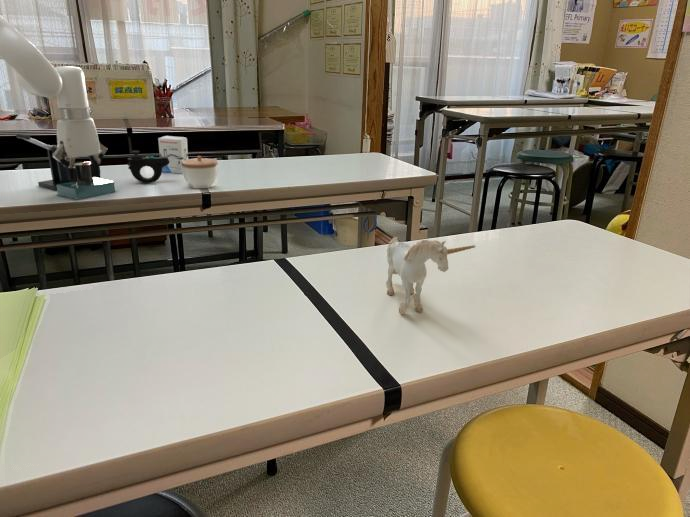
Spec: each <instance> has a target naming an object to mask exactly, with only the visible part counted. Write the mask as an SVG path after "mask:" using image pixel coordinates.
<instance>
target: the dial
mask: <svg viewBox="0 0 690 517" xmlns="http://www.w3.org/2000/svg"><path fill="white" fill-rule="evenodd" d="M91 163H92V162H91V161H84V162H76V163H75V162H74V168H76V173H77V179H78V181H77V184H81V185H85V184H92V183H94V178H95V177H93V172H92V165H91Z"/></svg>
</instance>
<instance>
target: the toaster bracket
mask: <svg viewBox="0 0 690 517" xmlns="http://www.w3.org/2000/svg"><path fill="white" fill-rule="evenodd" d="M50 146H51V147H53V148H54V146H56V147H55V148H54V149H55V151H56V150H57V148H58V144H52V145H50ZM46 151H47V158H48V162H49V168H50V173H51V178H52V179H49V180H48V179H47V180H42V181H38V182H37V184H38V187H41V188H43V189H48V190H52V191H56V192H58V191H57V184H63V183H68V182H72V181H69V179H68V177H67V171H66V167H64V166H63V165H62V164H61V163H59V161H57V160H56V159H55V158H53V156H52V155H53V154H52V152H53V151H51V150H48V149H46ZM61 157H62V158H63V159H65V156H61ZM73 168H74V166H73Z"/></svg>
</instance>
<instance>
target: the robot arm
mask: <svg viewBox="0 0 690 517" xmlns="http://www.w3.org/2000/svg"><path fill="white" fill-rule="evenodd" d="M0 59H2V60H3V61H4V62H5V63H7V64H8V65H9V66H10V67H11V68H12V69H13V70H14V71H15V72H16V73H17V76H16V80H17V84H18V86H19V87H20V89H21V90H23V91H24V92H26V93H27V94H28V95H29V94H30V95H32V96H36V97H43V98H53V97H56V104H57V110H58V115H59V119H58V120H56V143H57V144H56V145H58V148H57V150H56V151H55V152H54V154H53V155H52V156H53V158H55V159H56V160H57V161H59V163H61V164H62V165H63V166H64V167H66V171H67V177H68V179H69V181H72V182H77V181H78V179H77V173H76V168H73V166H74V164H75V162H76V158H82V157H83V158H84V157H88V158H89V160H90V163H91V165H92V172H93V178H99V179H101V166H100V164H101V163H102V159H103V158H104V155H105V154H106V152H107V151H108V148H107V147H106V146H104V145H103V144H102V143H101V142H100V140H99V135H98V134H99V133H98V130H97V127H96V124H95V122H94V119H93V118H91V117H92V116H91V115H93V114H94V109H93V108H90V104H89V99H88V91H87V85H86V78H85V73H84V70H83V69H82V68H81V67H78V66H67V65H66V66H65V65H64V66H54V65H53V64H52V62H50V61H49V60H48V59H47V58H46V56H45V55H44V54H43V53H42V52H41V51H40V50H39V49H38V48H37V46H35V45H34V44H33V43H32V42H31V41H30V40H28V38H26V37H25V36H24V35H23V34H22V33H20V32H19V31H18V29H16V27H14V26H13V25H12V24H11V23H10V22H8V21H7V19H6V18H4V17H3V16H2V15H1V14H0ZM61 156H65V159H63V158H62V157H61Z"/></svg>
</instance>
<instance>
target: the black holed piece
mask: <svg viewBox="0 0 690 517" xmlns="http://www.w3.org/2000/svg"><path fill="white" fill-rule="evenodd" d="M132 153H133V155H132V156H130V157H128V158H127V161H128V163H127V166H128V167H127V168H128V170H130V173H131V175H132V177H133V178H134V179H135V180H137V181H138V182H140V183H144V184H152V183H155V182H156V181H158V180H159V179H160V178H161V176H162V173H163V172H162V168H163V167H164V166H166V165H168V164H169V162H170V161H169V159H168V157H160V156H152V155H151V156H149V155H145V156H142V155H140V150H132ZM144 167H149V168H151V169H152V171H153V174H152V175H151V176H150V177H145V176H143V175H142V174H141V171H142V169H144Z"/></svg>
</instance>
